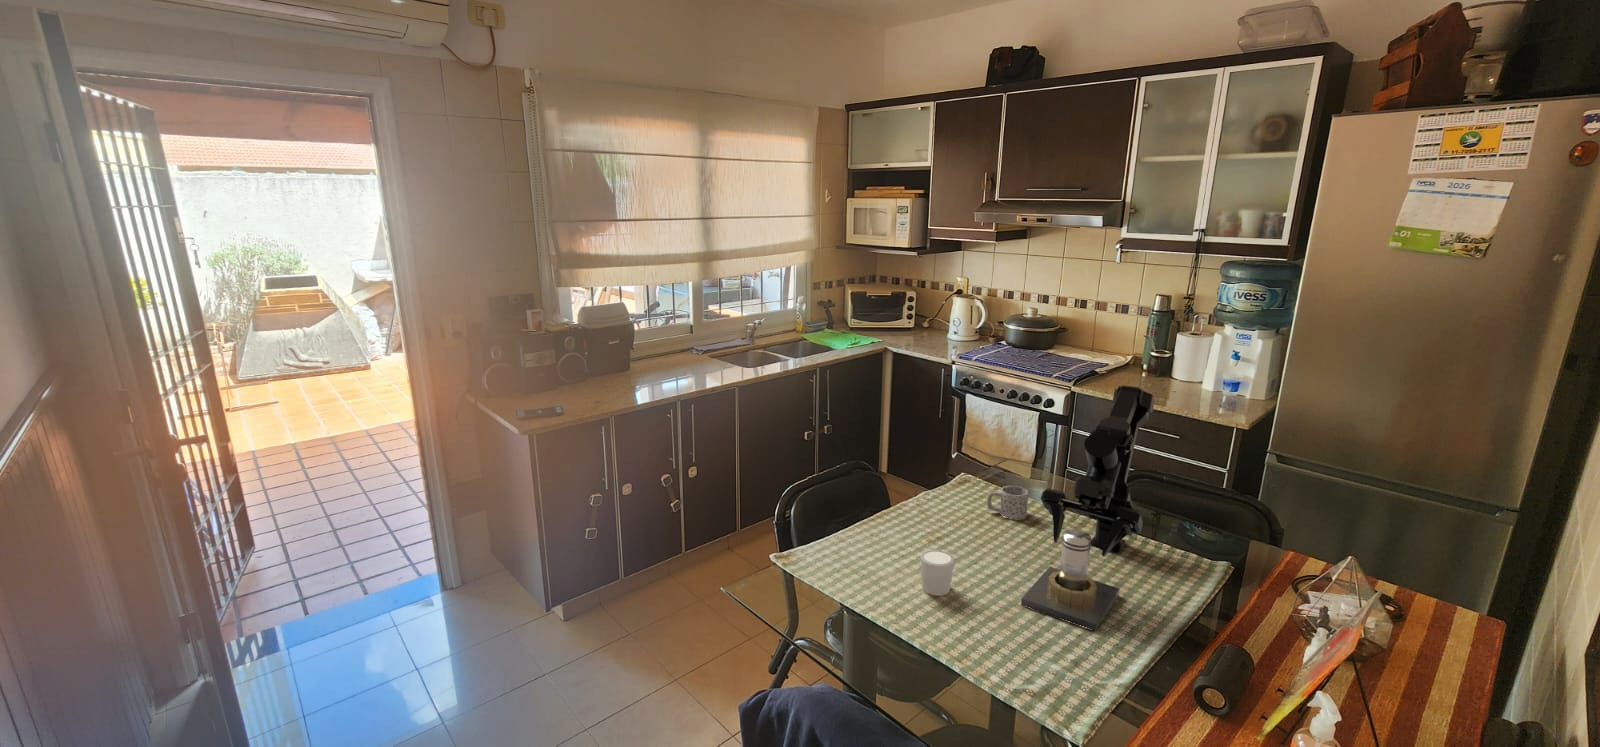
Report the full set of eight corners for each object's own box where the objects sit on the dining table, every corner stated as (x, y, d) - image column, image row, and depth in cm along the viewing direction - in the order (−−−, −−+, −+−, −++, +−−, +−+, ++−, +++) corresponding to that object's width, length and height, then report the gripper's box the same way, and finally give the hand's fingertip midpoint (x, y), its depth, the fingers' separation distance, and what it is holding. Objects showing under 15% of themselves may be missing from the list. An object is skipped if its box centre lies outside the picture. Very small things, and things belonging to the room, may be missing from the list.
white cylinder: (933, 600, 134) (934, 568, 132) (912, 584, 140) (913, 553, 138) (959, 592, 137) (961, 560, 135) (938, 576, 143) (939, 546, 141)
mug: (1025, 510, 175) (1027, 486, 174) (1027, 521, 169) (1029, 496, 168) (985, 507, 178) (987, 483, 176) (986, 517, 171) (988, 493, 170)
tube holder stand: (1049, 572, 144) (1050, 555, 143) (1118, 595, 136) (1121, 577, 135) (1021, 605, 132) (1022, 586, 131) (1095, 631, 123) (1097, 612, 123)
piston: (1055, 585, 136) (1061, 528, 134) (1081, 587, 136) (1088, 530, 133) (1059, 598, 132) (1065, 540, 129) (1087, 601, 131) (1094, 542, 128)
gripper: (1047, 451, 139) (1023, 519, 133) (1146, 472, 127) (1124, 547, 122) (1057, 476, 147) (1034, 540, 141) (1150, 497, 135) (1130, 569, 129)
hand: (1078, 548), depth 133 cm, fingers open, 9 cm apart
